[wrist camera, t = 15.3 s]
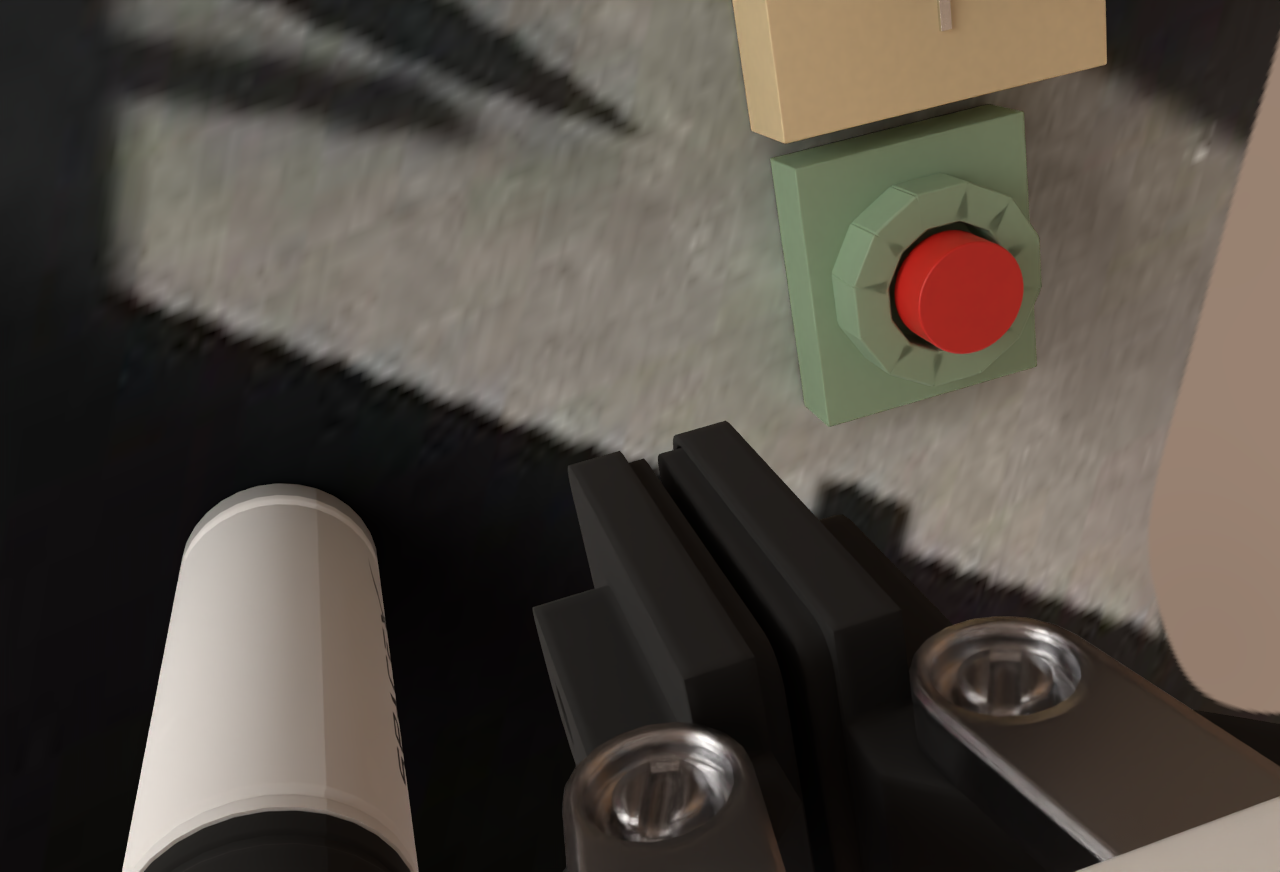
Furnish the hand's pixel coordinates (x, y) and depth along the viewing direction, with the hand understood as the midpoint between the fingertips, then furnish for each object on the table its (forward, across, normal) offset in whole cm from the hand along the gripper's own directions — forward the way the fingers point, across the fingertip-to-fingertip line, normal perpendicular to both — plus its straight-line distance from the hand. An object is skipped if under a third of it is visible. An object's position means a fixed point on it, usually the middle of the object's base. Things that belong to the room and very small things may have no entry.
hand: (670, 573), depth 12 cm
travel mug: (+27, +8, +12) cm, 31 cm away
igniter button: (+24, -15, +7) cm, 29 cm away
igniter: (+27, -15, +7) cm, 32 cm away
